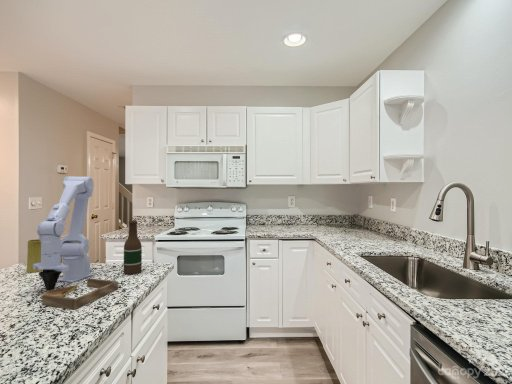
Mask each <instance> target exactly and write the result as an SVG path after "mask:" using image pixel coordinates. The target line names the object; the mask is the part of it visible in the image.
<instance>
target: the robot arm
mask: <svg viewBox="0 0 512 384" xmlns="http://www.w3.org/2000/svg"><path fill="white" fill-rule="evenodd" d="M62 187H63V191H62V194H61V195H60V199H59V201H58V203H56V204H53V206H51V209H50V211H49V213H48V214H47V217H46V218H45V220H42V221H41V222H40V223H39V224H38V225H37V228H36V233H37V235H38V239H39V240H40V241H41V263H36V264H33V269H38V270H42V271H39V272H38V276H39V277H40V278H41V279H42V281H43V284H44V287H45V290H46V292H48V291H52V290H56V289H55V288H56V287H57V286H56V285H57V283H58V282H67V283H74V282H77V281H79V280H82V279H87V278H88V277H90V276H92V275H93V274H91V259H90V257H89V256H88V253H89V251H90V245H89V243H90V239H89V238H87V237H86V236H85V235H84V229H85V225H86V224H85V222H86V217H87V211H88V205H89V199H90V197H92V196H93V193H94V187H95V184H94V180H93V178H92V177H91V176H89V175H88V176H72V175H71V176H70V175H67V176H66V175H65V177H64V178H63V181H62ZM73 200H74V202H73ZM72 202H73V207H72V214H71V220H70V224H69V230H68V234H67V235H65V236H64V237H62V235H64V232H65V229H66V228H65V227H66V222H65V221H66V220H67V218H68V215H69V214H70V212H71V208H70V205H71V203H72ZM61 237H62V238H61ZM61 260H62V261H63V262H62V263H61ZM61 274H63V275H62V277H61V278H59V277H60V276H61Z"/></svg>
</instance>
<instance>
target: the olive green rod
mask: <svg viewBox="0 0 512 384" xmlns="http://www.w3.org/2000/svg"><path fill="white" fill-rule="evenodd" d="M26 258H27V259H26V269H25V270H26V271H25V272H26V273H27V274H31V273H39V272H42V271H43V270H38V269H33V264H36V263H41V241H40V240H39V238H38V239H29V240H27V257H26Z"/></svg>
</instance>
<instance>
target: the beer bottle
mask: <svg viewBox="0 0 512 384" xmlns="http://www.w3.org/2000/svg"><path fill="white" fill-rule="evenodd" d="M128 225H129V226H128V236H127V238H126V241H125V242H124V245H123V274H124V275H127V276H133V275H138V274H140V273H142V265H143V264H142V263H143V262H142V259H143V257H142V256H143V255H142V253H143V252H142V250H143V248H142V247H143V246H142V243H141V241H140V239H139V235H138V226H137V225H138V221H137V220H136V219H135V220H129V221H128Z"/></svg>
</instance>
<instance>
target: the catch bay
mask: <svg viewBox="0 0 512 384" xmlns="http://www.w3.org/2000/svg"><path fill="white" fill-rule="evenodd" d="M86 287H87V288H94V289H95V290H93V291H91V292H88V293H86V294H83V295H80V296H79V297H76V298H74V297H65V296H63V297H59V296H52V295H43V294H42V295H41V304H42V305H43V306H47V307H54V308H61V309H67V310H78V309H80V308H82V307H84V306H86V305H89V304H91V303H92V302H95V301H96V300H99V299H101V298H103V297H105V296H107V295H109V294H111V293H113V292H115V291H117V290H119V281H117V280H109V279H108V280H107V279H101V278H99V279H97V278H91V277H90V278H86Z"/></svg>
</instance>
